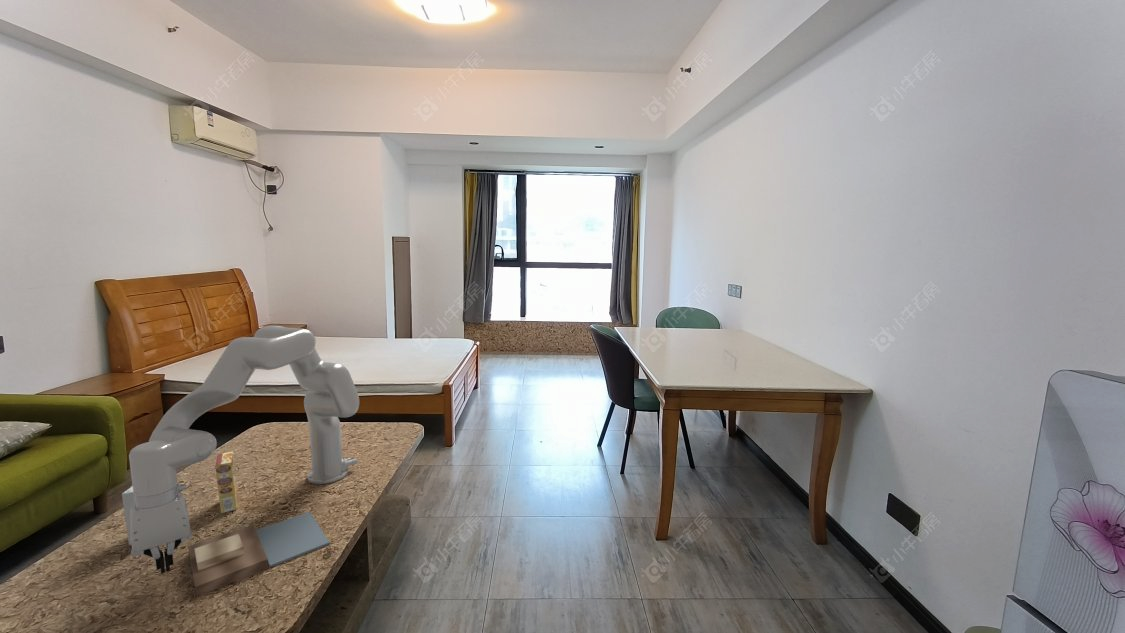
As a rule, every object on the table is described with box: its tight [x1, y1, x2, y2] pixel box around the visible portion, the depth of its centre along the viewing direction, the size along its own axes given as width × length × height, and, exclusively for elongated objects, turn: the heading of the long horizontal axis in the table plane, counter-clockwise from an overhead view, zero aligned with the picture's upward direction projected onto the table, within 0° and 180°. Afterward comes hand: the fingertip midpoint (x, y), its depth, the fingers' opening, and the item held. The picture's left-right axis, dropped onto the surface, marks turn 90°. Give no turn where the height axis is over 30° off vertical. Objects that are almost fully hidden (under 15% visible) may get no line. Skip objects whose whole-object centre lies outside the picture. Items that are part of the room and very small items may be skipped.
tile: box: [195, 534, 244, 571], centre depth 113 cm, size 9×7×2 cm
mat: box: [255, 511, 331, 568], centre depth 124 cm, size 14×19×1 cm
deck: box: [187, 524, 270, 597], centre depth 115 cm, size 14×19×2 cm
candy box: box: [214, 451, 239, 514], centre depth 139 cm, size 9×4×15 cm, turn 33°
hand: (165, 569), depth 106 cm, fingers closed
